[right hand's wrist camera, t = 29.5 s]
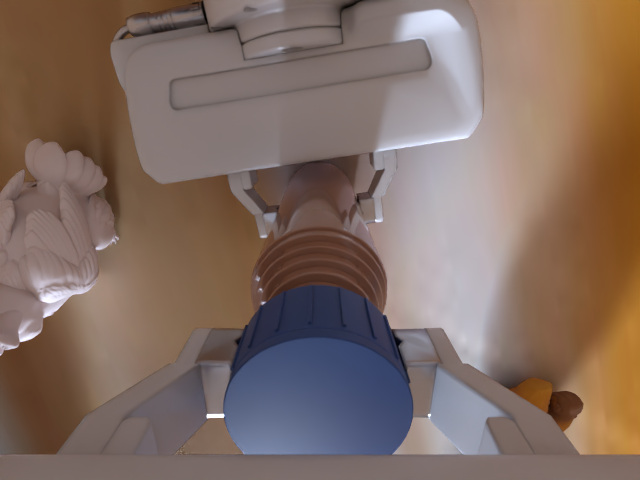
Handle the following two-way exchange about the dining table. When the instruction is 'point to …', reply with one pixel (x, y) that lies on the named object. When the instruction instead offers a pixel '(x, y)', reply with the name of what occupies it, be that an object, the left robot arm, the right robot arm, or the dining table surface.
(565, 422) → the toy
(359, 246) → the bottle
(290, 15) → the left robot arm
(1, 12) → the dining table surface
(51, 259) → the figurine
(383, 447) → the cap
